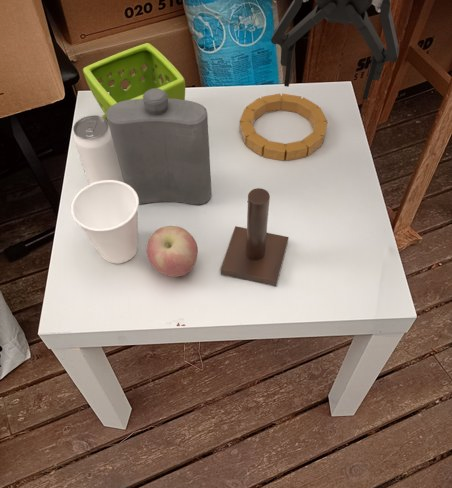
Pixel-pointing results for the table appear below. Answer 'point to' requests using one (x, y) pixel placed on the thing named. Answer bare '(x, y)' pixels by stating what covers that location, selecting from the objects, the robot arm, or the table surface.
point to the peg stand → (255, 245)
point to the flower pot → (133, 76)
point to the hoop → (281, 149)
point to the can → (96, 149)
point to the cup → (109, 218)
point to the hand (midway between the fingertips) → (326, 88)
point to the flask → (162, 147)
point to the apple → (172, 251)
